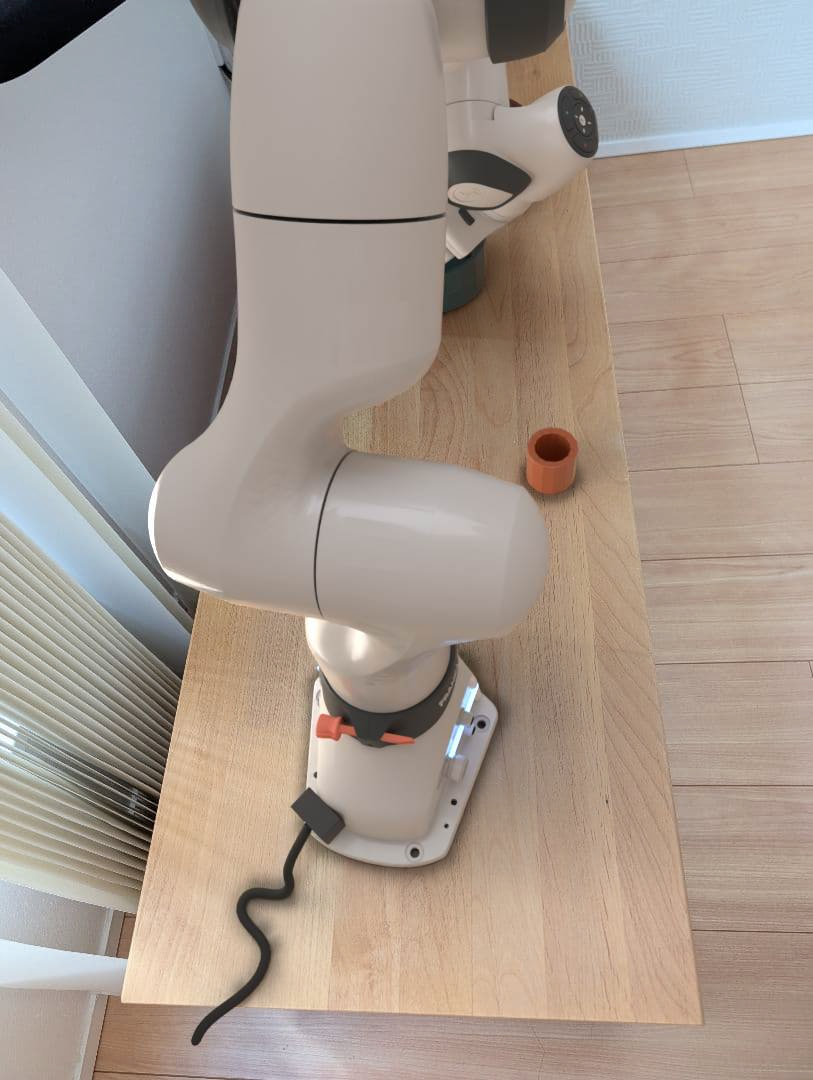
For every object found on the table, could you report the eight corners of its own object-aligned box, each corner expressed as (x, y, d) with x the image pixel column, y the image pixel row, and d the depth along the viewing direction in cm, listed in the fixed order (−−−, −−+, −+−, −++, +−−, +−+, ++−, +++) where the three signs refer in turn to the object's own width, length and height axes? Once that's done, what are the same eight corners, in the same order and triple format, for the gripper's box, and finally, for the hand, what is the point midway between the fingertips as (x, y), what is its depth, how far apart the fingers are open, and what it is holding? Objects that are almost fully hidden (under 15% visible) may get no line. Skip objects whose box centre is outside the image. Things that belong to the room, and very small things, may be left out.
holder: (571, 500, 88) (575, 470, 83) (522, 495, 89) (523, 464, 84) (576, 461, 91) (581, 430, 85) (529, 456, 92) (530, 425, 87)
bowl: (477, 322, 103) (475, 281, 97) (367, 314, 106) (358, 274, 100) (495, 244, 110) (494, 201, 104) (391, 239, 113) (384, 197, 107)
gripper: (514, 117, 93) (449, 169, 105) (422, 220, 86) (364, 264, 98) (545, 160, 95) (479, 207, 107) (459, 265, 88) (398, 303, 100)
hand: (423, 235), depth 102 cm, fingers open, 8 cm apart
